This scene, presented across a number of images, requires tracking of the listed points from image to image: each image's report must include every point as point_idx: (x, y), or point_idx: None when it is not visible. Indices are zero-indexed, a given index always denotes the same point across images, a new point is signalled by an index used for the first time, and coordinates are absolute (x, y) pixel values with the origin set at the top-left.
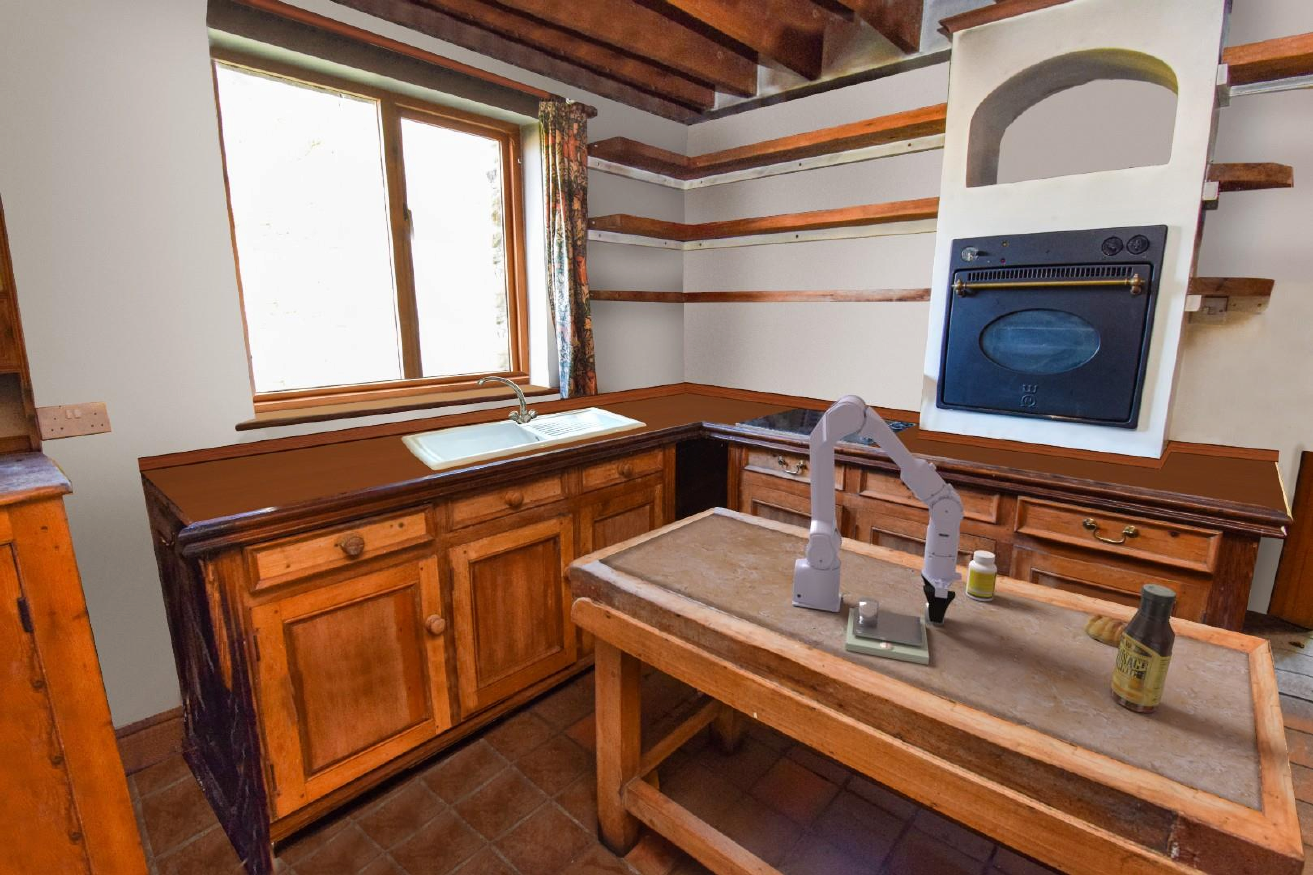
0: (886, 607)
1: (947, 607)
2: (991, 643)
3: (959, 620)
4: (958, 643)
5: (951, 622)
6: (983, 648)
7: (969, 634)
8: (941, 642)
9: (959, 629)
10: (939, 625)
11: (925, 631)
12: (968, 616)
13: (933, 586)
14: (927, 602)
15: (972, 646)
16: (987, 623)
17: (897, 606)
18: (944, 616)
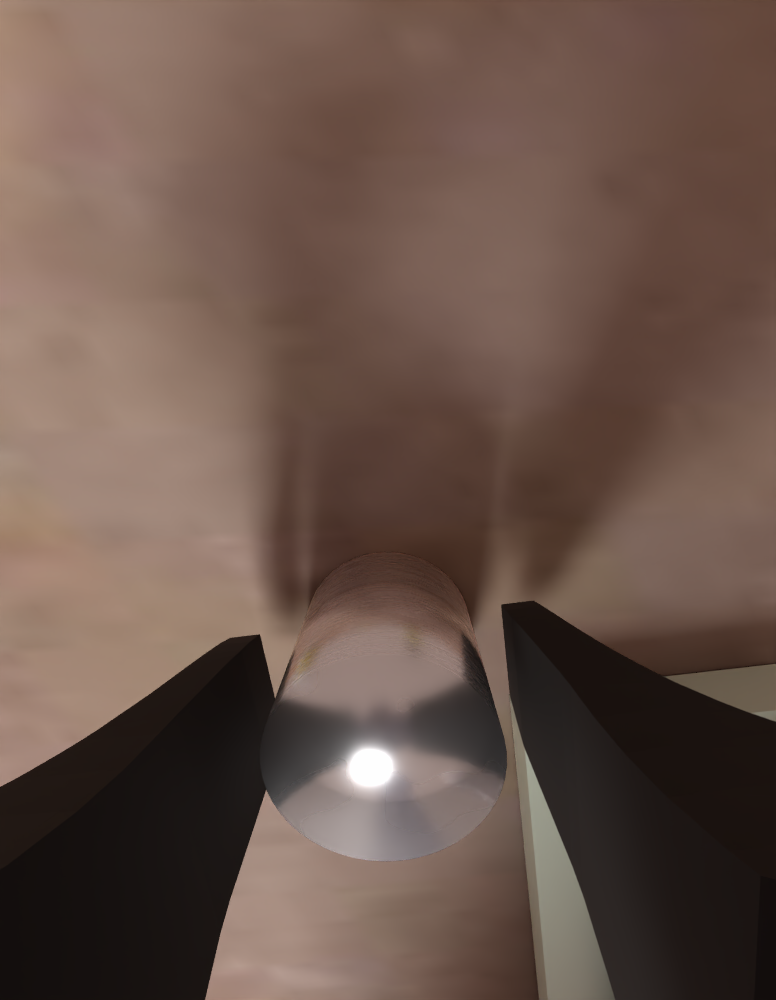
0: (325, 935)
1: (685, 688)
2: (602, 88)
3: (242, 424)
4: (720, 412)
5: (325, 491)
6: (743, 173)
7: (495, 321)
8: (751, 548)
9: (433, 416)
10: (453, 585)
11: (771, 713)
12: (102, 345)
13: (149, 997)
14: (404, 843)
15: (736, 284)
16: (148, 142)
17: (264, 877)
18: (390, 584)
